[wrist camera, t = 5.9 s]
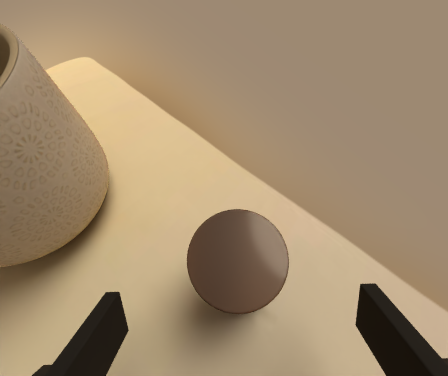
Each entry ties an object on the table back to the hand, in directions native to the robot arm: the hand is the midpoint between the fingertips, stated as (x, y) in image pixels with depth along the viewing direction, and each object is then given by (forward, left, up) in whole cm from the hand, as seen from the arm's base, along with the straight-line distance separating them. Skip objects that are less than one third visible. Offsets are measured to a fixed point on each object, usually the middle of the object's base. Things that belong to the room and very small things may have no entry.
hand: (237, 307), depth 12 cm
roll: (0, -2, -8) cm, 9 cm away
